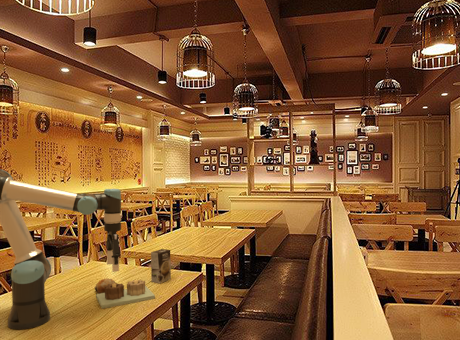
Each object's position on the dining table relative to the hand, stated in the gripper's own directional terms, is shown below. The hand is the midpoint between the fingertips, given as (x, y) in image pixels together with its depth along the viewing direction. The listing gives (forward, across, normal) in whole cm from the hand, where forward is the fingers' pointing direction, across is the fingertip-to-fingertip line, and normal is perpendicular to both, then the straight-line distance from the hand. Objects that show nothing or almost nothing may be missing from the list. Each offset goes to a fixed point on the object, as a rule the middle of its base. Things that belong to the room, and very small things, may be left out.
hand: (112, 267), depth 175 cm
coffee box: (+15, +17, -29) cm, 36 cm away
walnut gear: (+14, 0, -1) cm, 14 cm away
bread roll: (+16, +15, +1) cm, 22 cm away
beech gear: (+14, 0, -11) cm, 17 cm away
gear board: (+15, 0, -6) cm, 16 cm away
